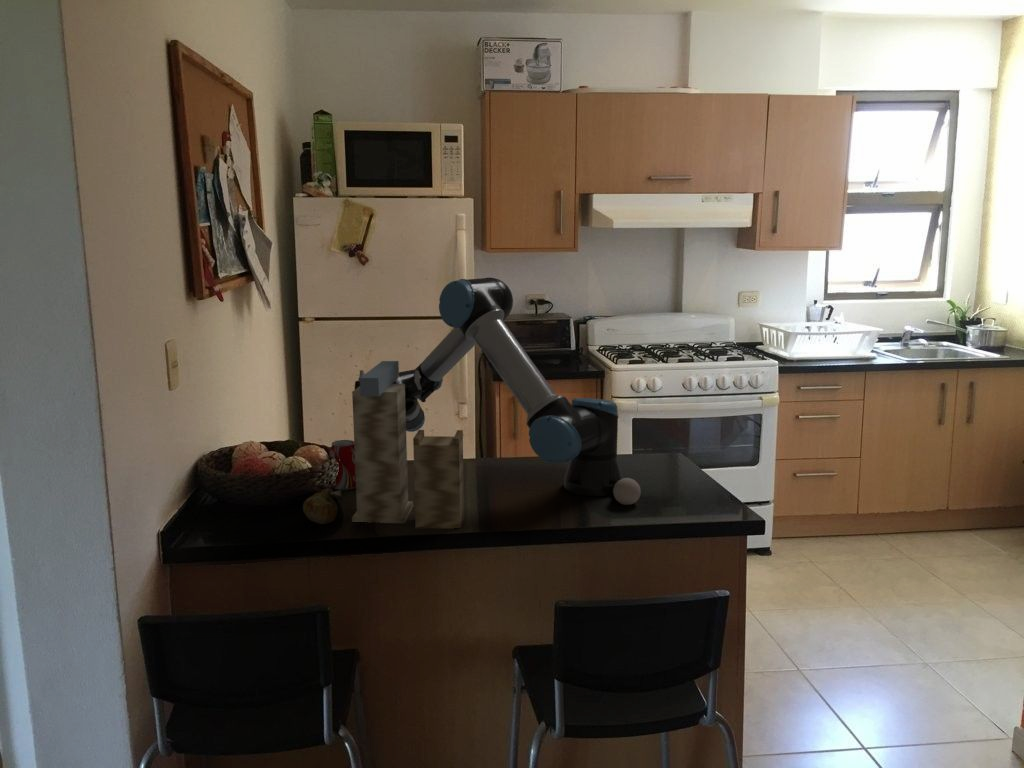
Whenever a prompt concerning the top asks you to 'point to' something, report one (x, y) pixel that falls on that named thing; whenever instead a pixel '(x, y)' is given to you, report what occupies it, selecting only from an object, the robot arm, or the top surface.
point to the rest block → (438, 480)
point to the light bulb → (626, 491)
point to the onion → (321, 506)
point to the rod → (379, 378)
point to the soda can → (344, 464)
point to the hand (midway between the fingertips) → (388, 375)
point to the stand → (381, 456)
